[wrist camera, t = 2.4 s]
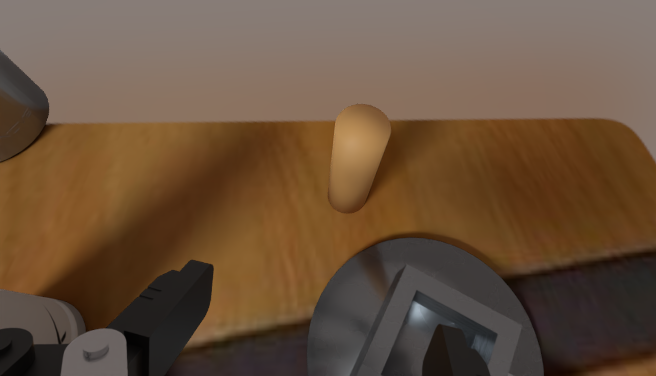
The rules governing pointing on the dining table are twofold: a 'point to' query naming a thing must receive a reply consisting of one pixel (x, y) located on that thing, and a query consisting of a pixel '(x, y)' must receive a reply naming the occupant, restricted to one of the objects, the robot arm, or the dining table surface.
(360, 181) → the wedge pin
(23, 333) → the robot arm
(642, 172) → the dining table surface
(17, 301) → the travel mug
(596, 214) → the dining table surface
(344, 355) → the grey handled frame
